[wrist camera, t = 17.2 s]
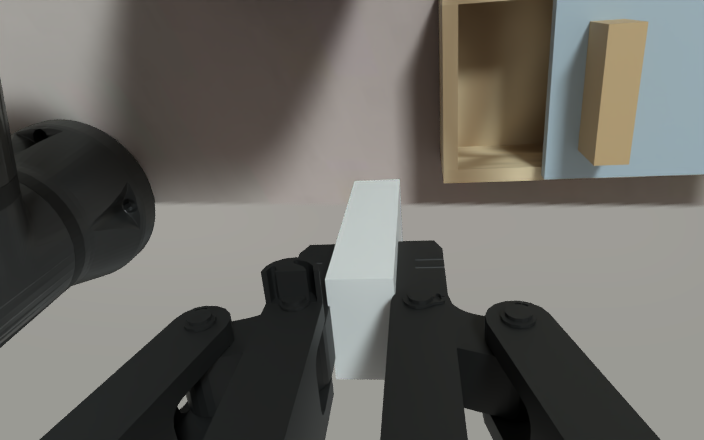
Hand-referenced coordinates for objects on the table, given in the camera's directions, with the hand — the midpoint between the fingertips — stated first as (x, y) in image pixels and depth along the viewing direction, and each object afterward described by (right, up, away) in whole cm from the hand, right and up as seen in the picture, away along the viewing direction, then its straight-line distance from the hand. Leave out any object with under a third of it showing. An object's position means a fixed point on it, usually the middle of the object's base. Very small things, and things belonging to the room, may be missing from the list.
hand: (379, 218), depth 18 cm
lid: (+20, +9, +15) cm, 27 cm away
